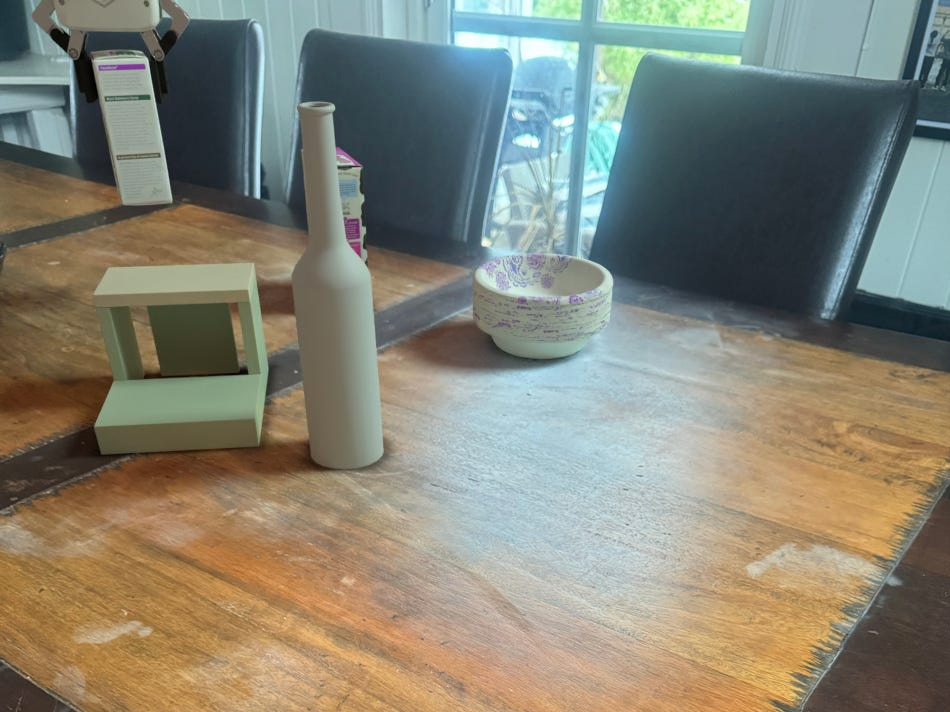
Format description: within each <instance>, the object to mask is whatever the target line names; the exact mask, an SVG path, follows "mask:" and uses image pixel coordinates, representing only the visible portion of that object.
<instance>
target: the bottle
mask: <svg viewBox="0 0 950 712" xmlns="http://www.w3.org/2000/svg"><path fill="white" fill-rule="evenodd" d="M296 110H297V112H298V113H299V122H300V131H301V132H300V133H301V141H302V149H303V154H304V164H305V175H306V186H307V203H308V221H307V227H308V226H309V233H308V244H307V246H306V248H305V250H304V252H303V253H302V255H301V256H300V258H299V259H298V261H297V262H296V263H295V264H294V267H293V270H292V272H291V287H292V296H293V305H294V306H293V307H294V315H295V324H296V332H297V343H298V352H299V362H300V370H301V378H302V386H303V397H304V407H305V415H306V426H307V432H308V441H309V450H310V456H311V457H310V458H311V459H312V460H313V461H314V462H315V463H316V464H318V465H320V466H322V467H325V468H329V469H334V470H352V469H361V468H364V467H367V466H370V465H372V464H374V463H376V462H377V461H379V460H380V459H381V458H382V457H383V455H384V452H385V451H384V435H383V433H384V432H383V420H382V419H383V417H382V407H381V406H382V404H381V391H380V377H379V366H378V353H377V339H376V327H375V325H376V324H375V315H374V314H375V312H374V311H375V310H374V301H373V288H372V287H373V286H372V275H371V271H370V270H369V267H368V268H367V266H366V264H365V263H364V261H363V260H362V259H361V258H360V257H359V256H358V255H357V254H356V253H355V251H354V250H353V249H352V248H351V246H350V245H349V244H348V242H347V239H346V234H345V227H344V220H343V213H342V205H341V198H340V191H339V181H338V170H337V159H336V148H335V147H336V138H335V126H334V116H333V113H334V112H335V111H336V107H335V104H334V103H332V102H327V101H306V102H302V103H298V105H296Z"/></svg>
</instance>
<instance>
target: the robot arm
mask: <svg viewBox="0 0 950 712" xmlns="http://www.w3.org/2000/svg"><path fill="white" fill-rule="evenodd" d="M163 11H164V12H165V13H166V14H167V15H168V16H169V17H170V19H171V20H172V21H171V25H170V26H169V28H168V29H167V31H166V32H165V33H164V35H163V36H162V38H161V36H160V34H159V32H158V30H157V29H156V28H157V26H158V25H161V23H162V21H163ZM54 12H55V14H56V17H57V20H58V23H59V24H60V25H61V26H62V27H64V28H66V29H69V30H71V31H70V34H69V33H68V32H67V31H66V30H64V28H62V27H61V26H59V25H58V24H57V22H56V21H55V20H54V19H53V13H54ZM31 19H32V20H33V22H34V23H35V24H36V25H37V26H38V27H39V28H40V29H41V30H42V31H43V32H44V33H46V34H47V35H48V36H49V37H50V39H51V41H53V42H54V43H55V44H56V45H57V46H58V47H60V49H61V50H63V51H64V53H66V54H67V56H68V57H69V59H71V60H72V61H73V65H74V66H73V67H74V70H75V76H76V77H75V78H76V81H77V86H78V90H79V93H80V94H84V96H85V101H86V103H87V104H94V103H95V102H96V101H97V100H99V97H98V91H97V86H96V81H95V76H94V71H93V66H92V60H91V57H90V56H88V51H87V50H86V49H87V45H88V39H89V35H90V32H111V33H112V32H117V33H118V32H119V33H120V32H121V33H138V34H140V36H141V38H142V41H144V44H145V45H146V47H147V49H148V50H149V52H150V60H149V61H148V62H149V68H150V74H151V80H152V85H153V91H154V97H155V102H156V105H157V104H158V105H163V104H164V102H165V101H166V95H170V93H171V91H170V83H169V82H170V81H169V76H168V69H167V63H166V57H168V54H169V53H170V51H172V49H173V48H174V46H175V45H176V43H178V41H179V39H180V38H181V36H182V35H183V33H184V32H185V30H186V29H187V27H188V26H189V24H190V23H191V17H190V15H189V14H188V13H187V12H186V11H185V10H184V9H183V7H181V6H179V4H178V3H177V2H176V1H174V0H40V2H39V3H38V5H37V6H36V8H35V9H34V10H33V12H32V13H31Z"/></svg>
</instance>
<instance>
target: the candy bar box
mask: <svg viewBox="0 0 950 712" xmlns="http://www.w3.org/2000/svg"><path fill="white" fill-rule="evenodd" d="M335 148H336V159H337V170H338V181H339V191H340V198H341V205H342V213H343V220H344V227H345V234H346V239H347V242H348V244H349V245H350V246H351V248H352V249H353V250H354V251H355V253H356V254H357V255H358V256H359V257H360V258H361V259H362V260H363V261H364V263H365V264H366V266H367V268H368V269H369V265H368V261H369V260H368V247H367V246H368V245H367V244H368V243H367V227H366V226H367V225H366V224H367V223H366V207H365V206H366V205H365V204H366V203H365V188H364V186H365V185H364V171H363V170H364V169H363V168H364V167H363V165H362V164H361V163H359V162H358V161H357V160H355V159H354V158H353V157H351V156H350V154H348V153H347V152H345V151H344V150H343V149H341V148H340V147H339V146H338V147H337V146H335ZM300 156H301V164H302V165H301V166H302V173H303V175H302V176H303V189H304V199H305V208H306V209H305V210H306V220H307V222H308V203H307V186H306V175H305V164H304V154H303V148H302V149H300ZM307 230H308V231H307V232H308V234H309V226H308V225H307Z"/></svg>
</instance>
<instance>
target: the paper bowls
mask: <svg viewBox="0 0 950 712" xmlns="http://www.w3.org/2000/svg"><path fill="white" fill-rule="evenodd" d="M613 287H614V279H613V275H612V274H611V272H610V271H609V270H608V269H607V268H605V267H604V266H603V265H601V264H599V263H597V262H594V261H592V260H589V259H586V258H582V257H578V256H574V255H568V254H562V253H561V254H560V253H550V252H549V253H547V252H532V253H531V252H529V253H518V254H511V255H504V256H500V257H495V258H493V259H490V260H488V261H485V262H483V263H482V264H480V265H479V266H478V267H477V268H476V269H475V271H474V273H473V275H472V319H473V322H474V324H475V325H476V327H477V328H479V330H481V331H482V332H484V333H486V334H487V335H490V336H491V339H492V340H493V342H494V343H495V345H496V346H497V348H499V349H500V350H501V351H503V352H505V353H507V354H509V355H512V356H515V357H519V358H523V359H532V360H552V359H560V358H566V357H569V356H571V355H574V354H576V353H578V352H579V351H580V350H581V349H583V348H584V347H585V346H586V344H587V343H588V341H589V340H590V338H591V337H594V336H596V335H597V334H599V333H601V332H603V331H604V330H605V329H606V328H607V327H608V326H609V323H610V320H611V311H612V302H613V301H612V300H613Z"/></svg>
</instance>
